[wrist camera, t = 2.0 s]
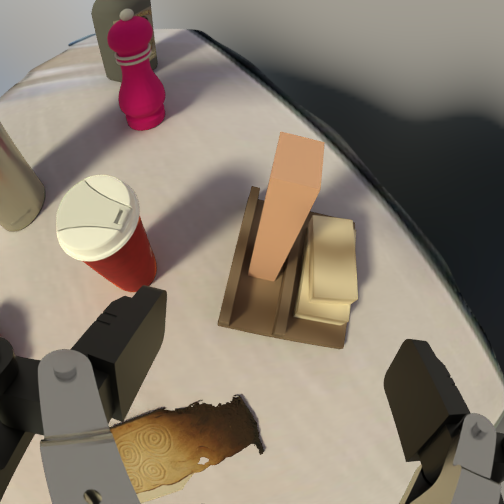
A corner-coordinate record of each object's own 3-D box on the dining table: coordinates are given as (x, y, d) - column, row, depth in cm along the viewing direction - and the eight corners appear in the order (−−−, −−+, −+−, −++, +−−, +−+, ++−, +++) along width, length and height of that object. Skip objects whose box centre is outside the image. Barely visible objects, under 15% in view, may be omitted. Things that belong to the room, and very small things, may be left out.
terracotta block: (274, 281, 34) (320, 189, 18) (247, 275, 34) (270, 177, 18) (280, 249, 36) (324, 142, 19) (254, 243, 36) (280, 131, 19)
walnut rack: (340, 349, 33) (352, 345, 30) (217, 325, 33) (217, 319, 30) (352, 226, 39) (362, 213, 36) (247, 201, 39) (250, 185, 36)
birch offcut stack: (340, 325, 33) (356, 317, 29) (290, 316, 33) (300, 306, 29) (349, 238, 37) (363, 221, 33) (303, 227, 37) (313, 208, 33)
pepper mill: (131, 104, 45) (109, 4, 27) (171, 103, 46) (161, -4, 27) (119, 134, 42) (88, 25, 24) (163, 132, 43) (145, 16, 24)
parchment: (89, 514, 22) (87, 517, 21) (49, 447, 24) (46, 449, 24) (272, 448, 28) (273, 450, 28) (228, 375, 31) (228, 375, 30)
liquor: (101, 79, 48) (72, -51, 20) (131, 56, 51) (115, -66, 24) (133, 87, 47) (110, -61, 19) (164, 62, 50) (154, -72, 23)
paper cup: (174, 248, 36) (151, 178, 23) (153, 309, 33) (112, 266, 20) (117, 233, 36) (75, 163, 23) (95, 290, 33) (34, 240, 20)
